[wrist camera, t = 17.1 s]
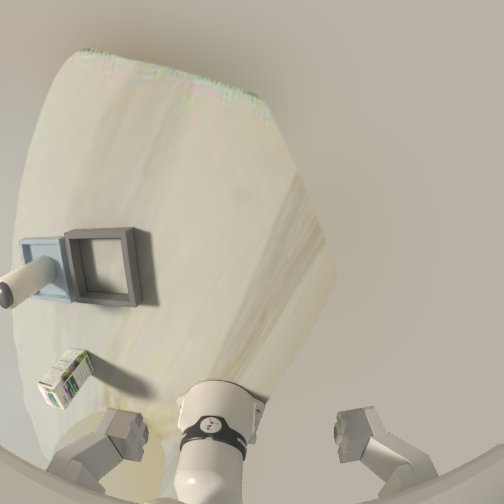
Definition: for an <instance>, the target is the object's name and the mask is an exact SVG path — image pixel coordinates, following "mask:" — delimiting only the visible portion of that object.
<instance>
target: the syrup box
mask: <svg viewBox="0 0 504 504" xmlns="http://www.w3.org/2000/svg"><path fill="white" fill-rule="evenodd" d="M93 371H94V368H93V366H92V364H91V361H90V359H89V356H88V354H87V351H86V350H79V349H71V348H69V349H68V350H67V351H66V352H65V353H64V354H63V355H62V356H61V357H60V358H59V359H58V360H57V362H56V363H55V364H54V365H53V366H52V367H51V368H50V369H49V371H48V372H47V373H46V374H45V375H44V376H43V377H42V378H41V380H40V381H39V382H38V383H37V384H36V385H37V386H38V387H39V389H40V391H41V393H42V394H43V396H44V398H45V399H46V401H47V403H48V404H49V405H51V406H54V407H57V408H60V409H66V408H67V407H68V405H69V404H70V402H71V401H72V400H73V398H74V397H75V395H76V394H77V392H78V391H79V390H80V388H81V387H82V385H83V384H84V383H85V381H86V380H87V378H88V377H89V376H90V374H91V373H92V372H93Z"/></svg>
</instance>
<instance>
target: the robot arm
mask: <svg viewBox="0 0 504 504" xmlns="http://www.w3.org/2000/svg"><path fill="white" fill-rule="evenodd" d="M176 403H177V405H178V407H179V409H180V411H181V412H180V417H179V422H178V428H180V431H181V432H182V433H183V435H182V438H181V441H180V452H181V453H180V457H179V461H178V466H177V470H176V474H175V478H174V487H175V490H176V493H177V496H178V500H176V499H171V498H158V499H153V500H150V501H148V502H146V503H144V504H242V492H241V490H242V467H243V461H244V460H245V456H246V451H247V448H246V447H247V445H248V443H251V444H255V442H256V430H257V428H258V425H259V422H260V419H261V417H262V414H263V411H264V408H265V404H264V403H263V402H262V401H260V400H258V399H255V398H253V397H252V396H251V395H250V394H249V393H248V392H247V391H246V390H244V389H243V388H241V387H239V386H237V385H235V384H232V383H228V382H224V381H206V382H202V383H199V384H197V385H195V386H193V387H192V388H191V389H190V390H189V391H188V393H187V394H185V395H182V396H180V397H178V398H177V402H176ZM142 420H143V417H142V415H141V413H135V412H130V411H125V410H120V409H115V408H110V407H109V408H108V409H107V410H106V412H105V413H104V416H103V417H102V419H101V421H100V423H99V425H98V427H97V429H96V431H95V432H91V433H89V434H87V435H86V436H84V437H82V438H80V439H79V440H77V441H75V442H74V443H72V444H70V445H69V446H66V447H65V448H63V449H61V450H59V451H57V452H56V454H55V455H54V457H53V459H52V461H51V462H50V464H49V466H48V468H47V470H46V471H45V470H43V469H41V468H39V467H37V466H35V465H33V464H31V463H29V462H27V461H26V460H24V459H22V458H20V457H18V456H17V455H15V454H13V453H12V452H10V451H8V450H7V449H5V448H4V447H2V446H1V445H0V504H138V503H134V502H130V501H126V500H122V499H119V498H115V497H112V496H109V495H105V491H106V490H105V488H104V487H103V486H102V485H101V484H100V483H99V482H98V481H99V480H100V479H101V478H102V477H103V476H105V475H106V474H107V473H108V472H109V471H111V470H112V469H113V468H114V467H116V466H117V465H118V464H119V463H120V462H121V461H123V459H126V460H132V461H137V462H141V459H142V456H143V453H144V450H143V448H142V446H144V445H145V444H147V441H148V433H149V432H148V428H147V425H146V424H145V423H143V422H142ZM337 420H338V422H337V423H336V424H335V427H334V438H335V442H336V444H337V445H338V446H339V449H338V455H339V458H340V462H341V463H346V462H351V461H357V460H360V461H361V462H362V463H363V464H364V465H366V466H367V467H368V468H369V469H370V470H371V471H373V472H374V473H375V474H376V475H378V477H380V478H381V479H382V480H383V481H385V482H386V484H385V485H384V486H383V488H382V489H381V490H380V492H379V493H378V496H379V498H378V499H374V500H371V501H367V502H363V503H359V504H504V444H499V445H497V446H495V447H493V448H492V449H490V450H489V451H487V452H485V453H484V454H482V455H480V456H478V457H477V458H475V459H473V460H471V461H470V462H467V463H466V464H464V465H462V466H460V467H458V468H456V469H454V470H452V471H450V472H448V473H445V474H443V475H441V476H438V474H437V471H436V469H435V467H434V465H433V463H432V461H431V459H430V457H429V455H427V454H426V453H424V452H422V451H420V450H419V449H417V448H415V447H413V446H411V445H410V444H408V443H406V442H405V441H403V440H401V439H399V438H398V437H396V436H395V435H393V434H391V433H390V432H389V433H386V431H385V429H384V427H383V425H382V422H381V420H380V418H379V416H378V413H377V411H376V409H375V408H374V406H370V407H365V408H358V409H353V410H348V411H342V412H339V413H338V414H337Z"/></svg>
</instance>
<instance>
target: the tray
mask: <svg viewBox="0 0 504 504" xmlns="http://www.w3.org/2000/svg"><path fill="white" fill-rule="evenodd" d="M19 246H20V251H21V257H22V262H23V265H25V264H27V263H29V262H31V261H33V260H35V259H37V258H39V257H41V256H43V255H46V256H48V257H50V258H51V259H52V260H53V262H54V264H55V266H56V269H57V276H56V279H55V280H54V281H53V282H51V283H50V284H48V285H47V286H45V287H44V288H42V289H41V290H39V291H38V292H36V293H35V294H33V295H32V296H31V298H35V299H42V300H49V301H57V302H65V303H72V302H74V301H75V300H76V296H75V292H74V287H73V282H72V278H71V273H70V267H69V262H68V256H67V250H66V243H65V236H60V237H34V238H24V239H21V240H19Z"/></svg>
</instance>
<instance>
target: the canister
mask: <svg viewBox="0 0 504 504" xmlns="http://www.w3.org/2000/svg"><path fill="white" fill-rule="evenodd" d="M56 276H57V269H56V266H55V264H54V262H53V260H52V259H51V258H50V257H48V256H46V255H43V256H41V257H39V258H37V259H35V260H33V261H31V262H29V263H27V264H25V265H23V266H22V267H20V268H18V269H16V270H14V271H12V272H10V273H8V274H7V275H5V276H3V277H1V278H0V305H1V306H2V307H3V308H5V309H7V308H9V309H13V308H15V307H16V306H17V305H19V304H20V303H22V302H23V301H25V300H26V299H27V298H29V297H30V296H32V295H33V294H35V293H36V292H38V291H39V290H41V289H42V288H44V287H45V286H47V285H48V284H50V283H51V282H53V281H54V280H55V279H56Z"/></svg>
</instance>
